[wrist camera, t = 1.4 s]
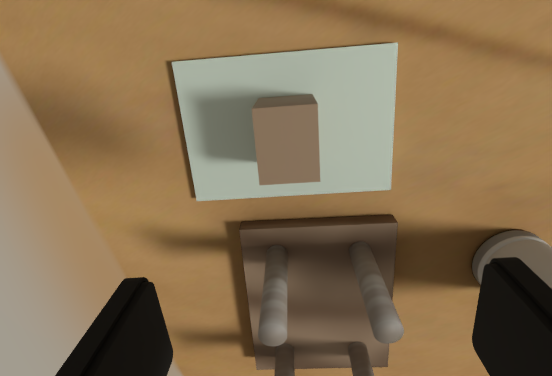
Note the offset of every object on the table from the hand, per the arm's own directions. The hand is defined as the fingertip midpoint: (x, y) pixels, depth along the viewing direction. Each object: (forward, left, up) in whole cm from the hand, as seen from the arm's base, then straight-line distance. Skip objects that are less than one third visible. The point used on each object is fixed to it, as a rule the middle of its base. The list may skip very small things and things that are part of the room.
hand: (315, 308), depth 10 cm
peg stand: (+15, +1, -19) cm, 24 cm away
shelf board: (-1, -1, -19) cm, 19 cm away
